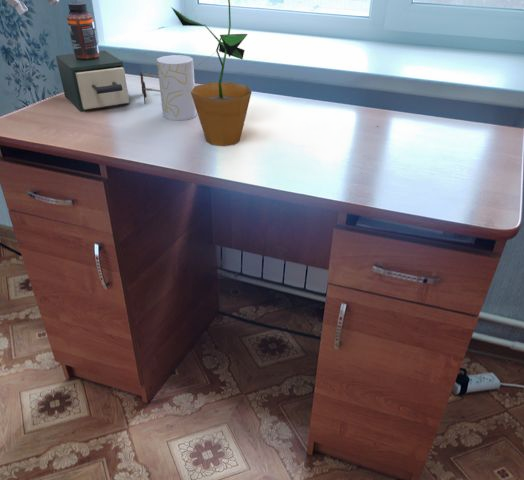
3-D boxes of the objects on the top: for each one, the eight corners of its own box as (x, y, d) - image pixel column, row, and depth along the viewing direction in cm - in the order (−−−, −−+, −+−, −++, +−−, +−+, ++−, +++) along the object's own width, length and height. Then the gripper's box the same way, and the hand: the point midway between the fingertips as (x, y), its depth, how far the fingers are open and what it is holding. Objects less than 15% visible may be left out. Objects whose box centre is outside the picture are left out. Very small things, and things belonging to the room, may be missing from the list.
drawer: (136, 108, 123) (131, 72, 118) (90, 115, 119) (83, 78, 114) (112, 90, 134) (107, 57, 129) (70, 96, 130) (62, 62, 125)
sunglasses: (141, 91, 137) (140, 70, 134) (195, 93, 140) (195, 73, 137) (145, 107, 127) (143, 85, 123) (203, 109, 130) (204, 88, 127)
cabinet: (129, 103, 129) (122, 61, 122) (80, 111, 124) (70, 67, 117) (111, 90, 137) (104, 50, 131) (65, 97, 132) (55, 55, 126)
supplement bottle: (104, 56, 126) (95, 1, 118) (90, 61, 122) (80, 5, 114) (84, 54, 128) (74, 0, 120) (70, 59, 123) (58, 3, 116)
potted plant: (214, 120, 120) (207, -38, 100) (280, 137, 112) (285, -31, 92) (162, 142, 109) (141, -31, 89) (230, 162, 101) (224, -22, 81)
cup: (156, 117, 121) (150, 61, 113) (173, 107, 127) (168, 53, 119) (186, 122, 119) (182, 65, 111) (202, 112, 124) (198, 57, 116)
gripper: (-38, -67, 95) (11, 13, 102) (40, -80, 108) (79, -8, 115) (-51, -49, 99) (-4, 26, 106) (26, -63, 112) (64, 5, 119)
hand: (40, 8), depth 110 cm, fingers open, 8 cm apart
